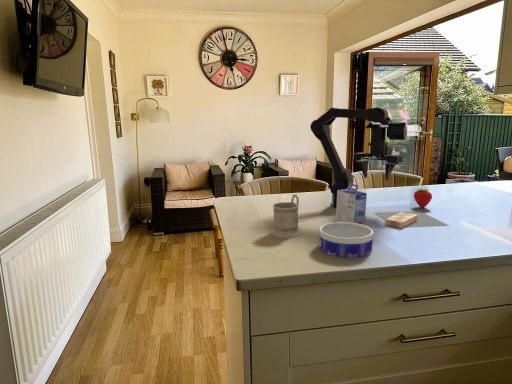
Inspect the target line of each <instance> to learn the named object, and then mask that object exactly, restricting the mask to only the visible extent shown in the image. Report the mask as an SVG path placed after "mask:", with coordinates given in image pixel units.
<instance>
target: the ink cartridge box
mask: <svg viewBox="0 0 512 384" xmlns="http://www.w3.org/2000/svg"><path fill="white" fill-rule="evenodd" d="M359 186H360V185H359V184H355V183H353V184H351V186H350V187H349V189H342V190H337V208H335V210H336V211H335V222H349V223H357V224H361V225H365V224H366V210H367V208H366V207H367V195H368V194H367V193H366V192H363V191H358V188H359ZM354 187H355V188H354ZM365 226H366V225H365Z"/></svg>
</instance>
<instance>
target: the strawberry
mask: <svg viewBox="0 0 512 384" xmlns="http://www.w3.org/2000/svg"><path fill="white" fill-rule="evenodd" d="M413 198H414V199H413V200H414V201H415V202H416V204H417V205H418V207H419V208H421V209H424V208H425V207H427V206H428V205H429V203H430V202H431V201H432V199H433V195H432V193H431V192H430V189H428V188H423V186H421V188H418V189H415V192H414V193H413Z"/></svg>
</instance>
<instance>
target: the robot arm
mask: <svg viewBox="0 0 512 384" xmlns="http://www.w3.org/2000/svg"><path fill="white" fill-rule="evenodd" d="M338 118H341V119H342V118H344V119H358V120H359V119H360V120H365V121H367V122H369V123H368V124H367V125H366V126H365V129H370V137H369V138H370V139H369V140H370V142H368V146H369V153H368V152H355V153H354V154H353V155H352V160H353V161H355V163H356V164H358V166H359V168H360V170H361V173H362V175H363V177H364V179H367V178H368V165H369V162H370V160H373V161H386V162H387V163H384V164H385V174H384V177H385V181H388V180H389V179H390V177H391V174H392V172H393V169H395V167H396V166H397V165H399V164H400V163H403V162H404V161H403V160H404V157H403V155H402V154H395V153H394V154H393V148H391V147H389V146H388V142H386V138H387V139H389V141H406V140H407V136H408V129H407V122H406V121H404V122H393V120H391V117H390V116H389V112H388V110H387V109H386V108H385V107H371V108H370V107H369V108H365V109H361V108H360V109H359V108H358V109H355V108H338V107H330V108H329V109H328V110H327V111H326V112H325V113H324V114H322V115H320V116H319V117H318V118H317V119H314V120H313V121H311V123H310V126H309V127H310V131H311V132H312V134H313V135H314V137H315V138H316V139H318V141H319V142H320V143H321V146H322V149H323V150H324V153H325V155H326V158H327V159H328V161H329V164H330V166H331V168H332V171H333V180H334V183H335V184H333V185H332V186H331V187H330V188H329V190H330V193H331V203H330V205H331V206H332V207H333V208H335V209H336V208H337V190H342V189H349V187H350V186H351V184H355V180H354V178H355V176H354V175H353V173H352V170H351V169H350V168H349V169H346V168H345V166H344V164H343V162H342V160H341V158H340V156H339V153H338V151H337V148H336V146H335V145H334V142H333V140H332V138H331V137H332V136H331V128H330V126H331V125H332V124H333V123H334V121H335V120H336V119H338ZM374 123H375V124H374ZM376 123H377V124H376Z"/></svg>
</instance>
